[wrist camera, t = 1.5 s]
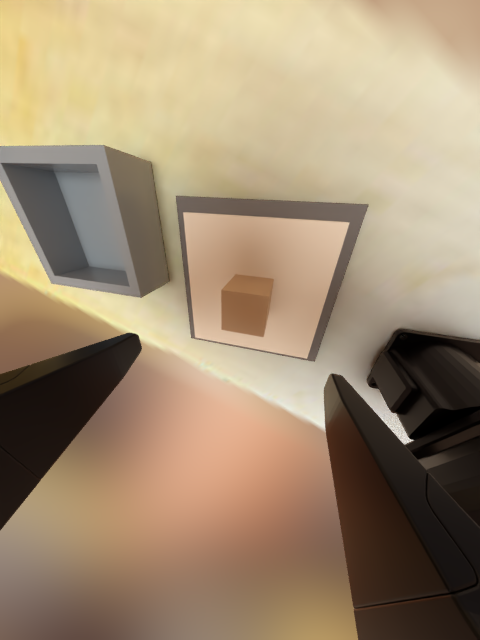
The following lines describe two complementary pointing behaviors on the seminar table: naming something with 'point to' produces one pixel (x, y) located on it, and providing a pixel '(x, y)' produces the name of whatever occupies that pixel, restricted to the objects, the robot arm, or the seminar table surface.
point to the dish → (88, 215)
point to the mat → (280, 210)
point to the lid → (260, 278)
